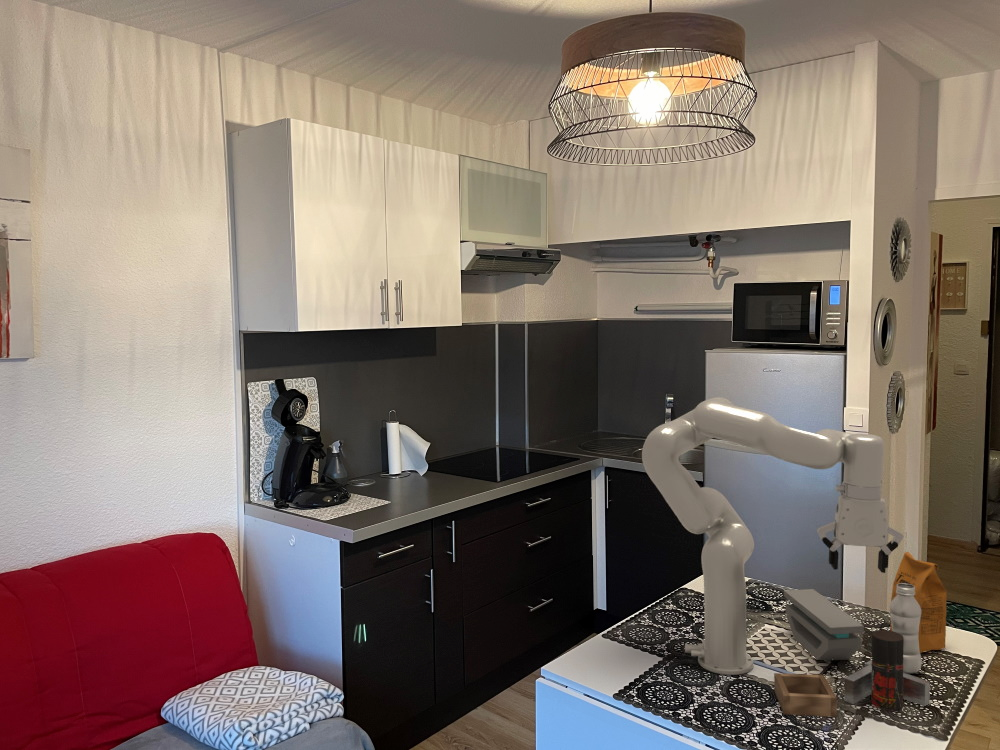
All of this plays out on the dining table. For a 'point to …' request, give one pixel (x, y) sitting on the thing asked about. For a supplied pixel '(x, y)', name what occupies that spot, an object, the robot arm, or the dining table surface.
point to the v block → (861, 687)
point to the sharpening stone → (822, 626)
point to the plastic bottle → (907, 625)
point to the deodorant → (887, 670)
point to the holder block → (805, 695)
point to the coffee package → (925, 600)
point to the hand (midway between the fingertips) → (857, 569)
